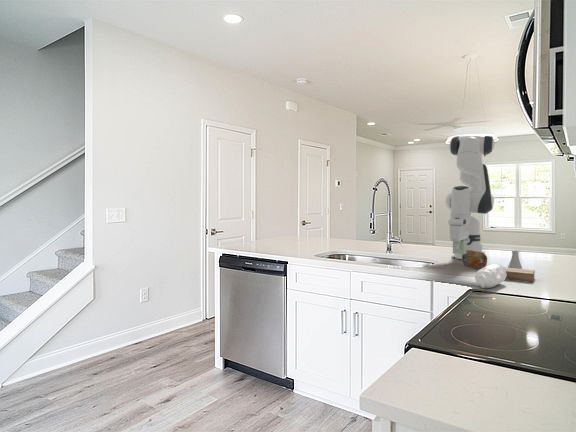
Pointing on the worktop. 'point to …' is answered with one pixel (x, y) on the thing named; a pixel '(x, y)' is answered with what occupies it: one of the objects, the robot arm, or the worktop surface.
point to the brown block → (520, 274)
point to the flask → (515, 260)
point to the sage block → (462, 247)
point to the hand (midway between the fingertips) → (459, 248)
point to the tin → (474, 259)
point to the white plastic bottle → (490, 276)
